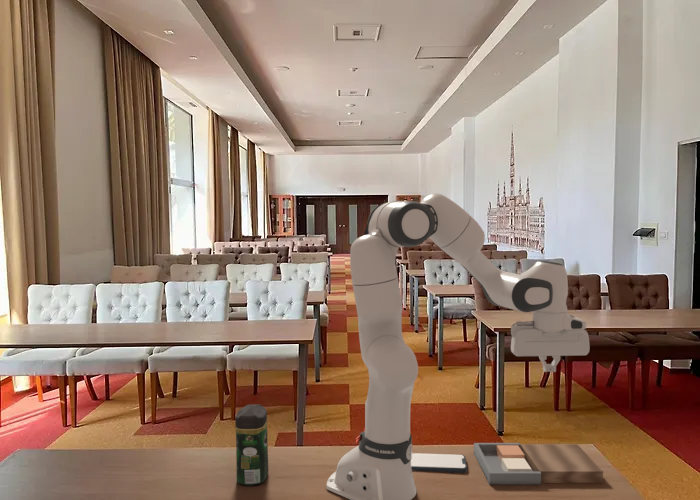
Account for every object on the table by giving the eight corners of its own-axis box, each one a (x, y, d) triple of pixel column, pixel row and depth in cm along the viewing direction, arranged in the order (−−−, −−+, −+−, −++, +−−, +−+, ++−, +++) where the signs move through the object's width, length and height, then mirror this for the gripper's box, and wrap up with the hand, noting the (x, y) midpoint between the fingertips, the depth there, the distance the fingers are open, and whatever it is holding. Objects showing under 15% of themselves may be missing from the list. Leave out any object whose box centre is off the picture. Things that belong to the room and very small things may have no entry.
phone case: (406, 472, 146) (467, 474, 144) (406, 466, 146) (467, 468, 143) (407, 457, 154) (465, 459, 152) (407, 452, 154) (464, 454, 152)
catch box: (489, 484, 138) (489, 473, 137) (473, 453, 156) (473, 442, 155) (540, 484, 138) (541, 473, 137) (519, 453, 155) (519, 442, 155)
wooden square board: (539, 482, 139) (539, 471, 138) (520, 454, 154) (520, 444, 154) (602, 482, 138) (603, 471, 138) (577, 454, 154) (577, 444, 154)
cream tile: (507, 478, 140) (507, 468, 140) (501, 467, 146) (501, 458, 146) (531, 478, 140) (531, 468, 139) (523, 467, 146) (524, 458, 145)
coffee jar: (241, 468, 147) (240, 401, 145) (270, 469, 146) (269, 401, 145) (233, 487, 137) (231, 415, 136) (264, 487, 137) (263, 415, 135)
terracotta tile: (502, 463, 148) (502, 454, 148) (496, 453, 154) (496, 445, 154) (524, 463, 148) (524, 454, 147) (517, 453, 154) (517, 445, 153)
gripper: (514, 323, 143) (514, 375, 144) (592, 322, 143) (591, 374, 144) (507, 319, 149) (507, 368, 150) (582, 317, 149) (582, 367, 150)
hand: (549, 371), depth 147 cm, fingers closed
